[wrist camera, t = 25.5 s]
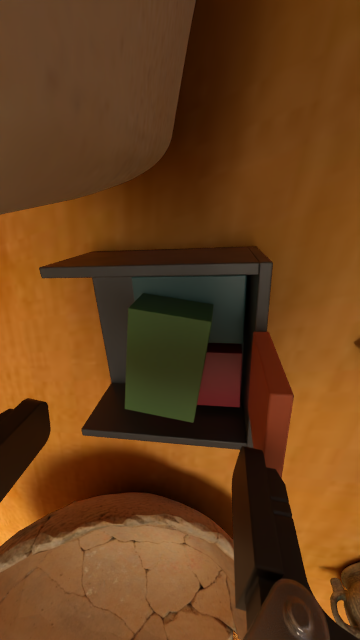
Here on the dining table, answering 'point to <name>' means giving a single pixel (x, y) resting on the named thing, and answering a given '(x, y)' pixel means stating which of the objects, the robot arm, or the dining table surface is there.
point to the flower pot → (86, 94)
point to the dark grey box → (258, 349)
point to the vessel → (348, 598)
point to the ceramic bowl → (120, 574)
